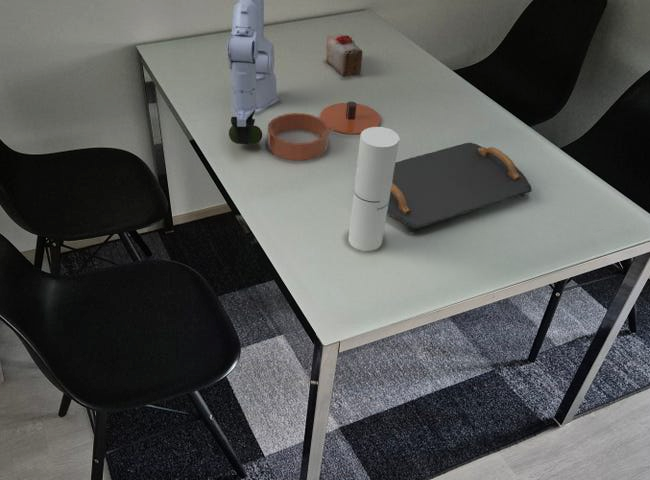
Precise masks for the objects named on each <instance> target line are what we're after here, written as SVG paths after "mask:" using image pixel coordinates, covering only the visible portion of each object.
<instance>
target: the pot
mask: <svg viewBox="0 0 650 480" xmlns="http://www.w3.org/2000/svg"><path fill="white" fill-rule="evenodd" d="M293 130H297V131H306V132H311V133H313V134H316V135H317V136H319V138H318V139H316V140H313V141H308V142H293V141H287V140H284V139H281V138H279V137H277V135H278V134H280V133H283V132H286V131H293ZM329 136H330V129H329V127H328V125H327V124H326V122H324V121H323V120H322V119H320V117H318V116H315V115H313V114H308V113H304V112H291V113H284V114H281V115H278V116H276V117H275V118H273V119H272V120H270V122H269V123H268V125H267V147H268V150H269V151H270V152H272V154H274V155H275V156H277V157H279V158H281V159H284V160H289V161H294V162H303V161H309V160H312V159H315V158H318V157H320V156H322V155H323V154H324V153H326V151H327V150H328V148H329Z"/></svg>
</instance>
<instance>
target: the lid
mask: <svg viewBox="0 0 650 480" xmlns="http://www.w3.org/2000/svg"><path fill="white" fill-rule="evenodd" d="M319 115H320V116H319V118H320V119H322V120H323V121H324V122H326V124H327V125H328V127H329V131H330V130H331V131H333V132H336V133H338V134H343V135H350V136H351V135H352V136H354V135H355V136H356V135H361V133H362V131H364V130H365V129H367V128H371V127H380V125H381V116H380V114H379V112H377V111H376V110H375V109H374V108H372V107H370V106H367V105H365V104H361V103H357V102H356V101H348V102H338V103H333V104H330V105H328V106H326V107H325V108H323V109H322V110H321V112H320V114H319Z"/></svg>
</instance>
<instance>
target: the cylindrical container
mask: <svg viewBox="0 0 650 480" xmlns="http://www.w3.org/2000/svg"><path fill="white" fill-rule="evenodd" d="M399 142H400V136H399V134H398V133H397V132H396V131H395V130H393V129H391V128H388V127H382V126H378V127H371V128H367V129H365V130H364V131H362V133H361V134H360V138H359V145H358V146H359V147H358V154H357V163H356V172H355V181H354V187H353V196H352V205H351V213H350V221H349V231H348V243H349V244H350V246H351V247H353V248H355V249H356V250H358V251H361V252H362V251H363V252H373V251H376V250H378V249H379V248H380V247H381V246H382V244H383V239H384V234H385V228H386V221H387V215H388V213H387V210H388V204H389V198H390V192H391V186H392V180H393V174H394V168H395V162H397V154H398V148H399Z"/></svg>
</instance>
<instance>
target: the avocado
mask: <svg viewBox="0 0 650 480" xmlns="http://www.w3.org/2000/svg"><path fill="white" fill-rule="evenodd" d="M228 137H229V139H230V141H231V142H232V143H234V144H236V145H240V144H239V141H238V137H237V133H236V131H235V128H234V127H233V125H232V124H231V126H230V128H229V129H228ZM262 140H263V130H262V129H261V128H260V127H259V126H257V125H255V124H254V125H253V127H252V129H251V131H250V137H249V142H248V144H247V145H257V144H258V143H260V142H261V141H262Z"/></svg>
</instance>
